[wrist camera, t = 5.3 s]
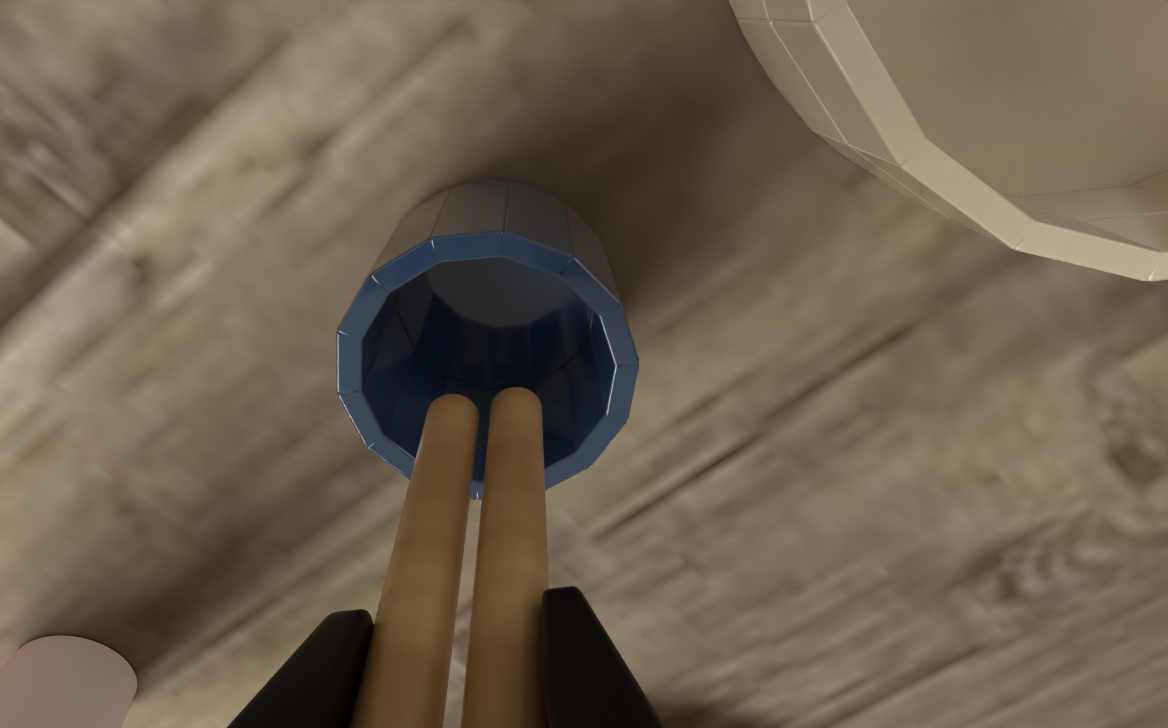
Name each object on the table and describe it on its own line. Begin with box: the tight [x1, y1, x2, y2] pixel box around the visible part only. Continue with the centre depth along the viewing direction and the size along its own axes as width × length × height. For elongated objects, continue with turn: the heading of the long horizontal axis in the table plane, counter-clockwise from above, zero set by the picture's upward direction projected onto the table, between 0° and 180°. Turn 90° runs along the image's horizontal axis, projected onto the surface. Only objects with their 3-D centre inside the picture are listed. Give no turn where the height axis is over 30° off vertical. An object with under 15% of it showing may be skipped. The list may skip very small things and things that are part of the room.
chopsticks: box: [349, 387, 549, 728], centre depth 7 cm, size 1×2×11 cm, turn 95°
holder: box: [336, 180, 639, 500], centre depth 16 cm, size 6×6×4 cm
